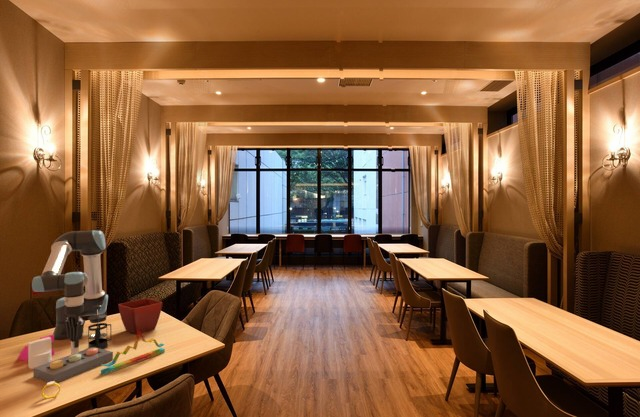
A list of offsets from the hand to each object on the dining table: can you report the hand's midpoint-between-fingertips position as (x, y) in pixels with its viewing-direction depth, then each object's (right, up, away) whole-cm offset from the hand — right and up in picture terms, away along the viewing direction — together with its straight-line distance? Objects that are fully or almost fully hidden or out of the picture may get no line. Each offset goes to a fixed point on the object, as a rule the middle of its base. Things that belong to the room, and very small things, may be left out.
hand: (74, 353), depth 171 cm
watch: (+8, -7, -26) cm, 28 cm away
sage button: (0, -4, 0) cm, 4 cm away
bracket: (-30, -8, +14) cm, 34 cm away
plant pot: (+5, -7, +54) cm, 54 cm away
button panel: (0, -7, 0) cm, 7 cm away
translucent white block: (-20, -7, +4) cm, 22 cm away
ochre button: (-4, -4, -7) cm, 9 cm away
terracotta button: (+3, -4, +7) cm, 9 cm away
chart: (+26, -7, +6) cm, 27 cm away
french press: (-4, -7, +26) cm, 27 cm away
